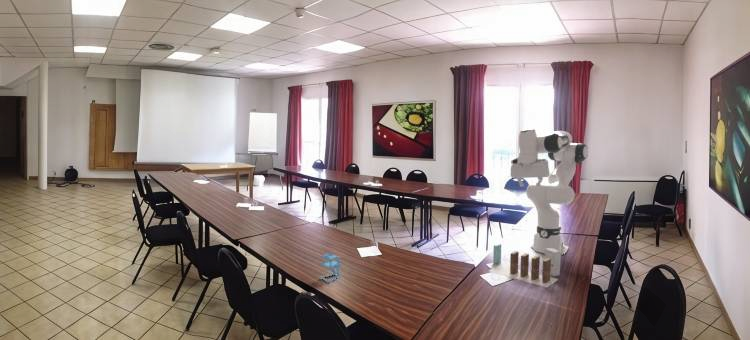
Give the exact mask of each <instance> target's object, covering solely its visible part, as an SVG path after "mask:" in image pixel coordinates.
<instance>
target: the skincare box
mask: <svg viewBox="0 0 750 340" xmlns="http://www.w3.org/2000/svg"><path fill="white" fill-rule="evenodd" d="M547 258H549V259H551V271H550V277H554V276H560V274H561V272H560V271H561V261H562V260H561V259H562V254H561V251H558V250H556V249H553V248H547V249H545V254H544V260H545V259H547Z"/></svg>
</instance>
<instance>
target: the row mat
mask: <svg viewBox="0 0 750 340" xmlns="http://www.w3.org/2000/svg"><path fill="white" fill-rule="evenodd" d="M520 270H521V268H518V272H517V273H515V274H514V275H513V274H510V266H508V265H504V264H499V265H497V266H495V267H493V268H491V269H489V270H488V272H490V273H493V274H497V275H501V276H504V277H508V278H512V279H515V280H519V281H521V282H527V283H530V284H533V285H536V286H540V287H544V288H549V287H550V286H552V285H553V284H554V283H556V282H557V281H558V280H559V278H554V277H553V276H550V281H549V282H547V283H542V274H540V273H539V278H537V279H536V280H531V271H528V275H527V276H525V277H520Z"/></svg>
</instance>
